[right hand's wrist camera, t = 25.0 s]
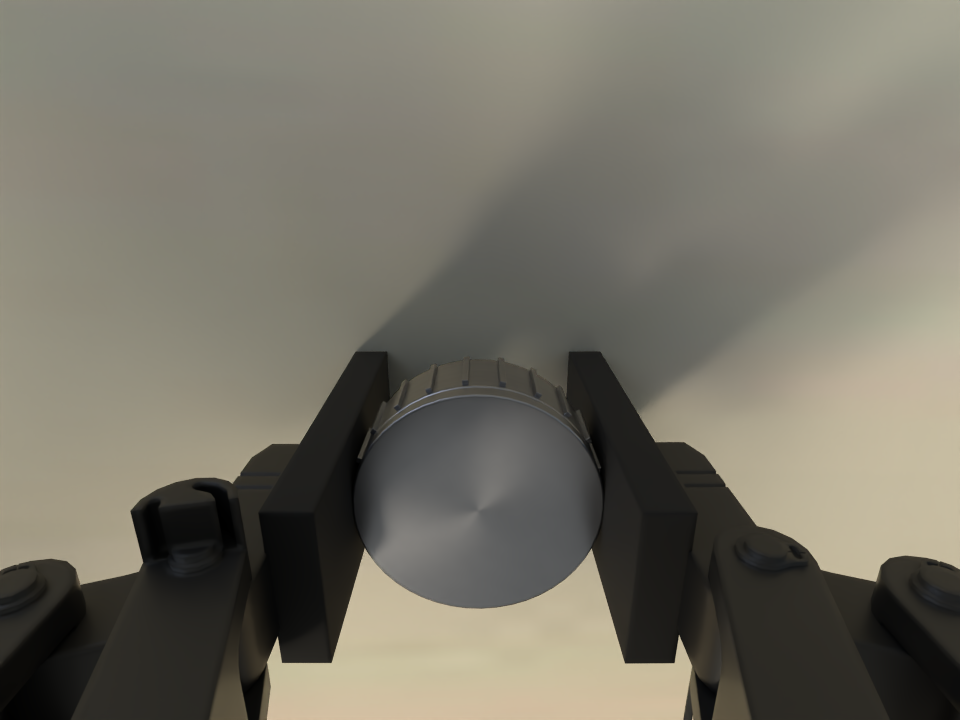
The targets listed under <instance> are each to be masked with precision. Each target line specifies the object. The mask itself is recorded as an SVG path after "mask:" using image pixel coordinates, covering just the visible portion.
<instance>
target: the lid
mask: <svg viewBox="0 0 960 720" xmlns="http://www.w3.org/2000/svg"><path fill="white" fill-rule="evenodd" d="M591 442H592V440H591V437H590V434H589V432H588V429H587V426H586V424H585V421H584V418H583V416H582V413H581V411H580V410H577V411H575V409H574V408H573V406H572V405H571V403H570V402H569V401H568V399H567V398H566V397H565V394H564V391H563V389H562V388H561V387H560V386H558V387H557V388H556V387H555V386H553V385H552V384H551V383H550V382H548V381H547V380H546V379H544V378H542V377H541V376H539V375H537V372H536V370H535V369H533V368H531V369H530V371H529V370H527V369H525V368H522V367H520V366H516V365H513V364H510V363H506V362H504V359H503V358H498V361H494V360H479V359H474V360H470V357H464V360H462V361H456V362H452V363H447V364H443V365H440V366H438V367H437V365H436V364H433V365H431V366H430V370H428V371H426V372H424V373H422V374H420V375H418V376H416V377H415V378H413V379H412V380H410V381H409V382H408V380H407V379H405V380H404V381H403V382H402V384H401V387H400V389H399V390H398V391H397V392H396V393H395V394H394V395H393V396H392V397H391V398H390V400H389V401H388V402H387V403H386V402H384V401H383V402H382V404H381V405H380V408H379V410H378V413H377V415H376V418H375V421H374V423H373V426H372V428H369V430H368V432H367V435H366V437H365V440H364V442H363V445H362V447H361V450H360V452H359V455H358V457H357V460H356V462H357V463H360V464H359V467H358V469H357V473H356V477H355V481H354V485H353V494H352V504H353V515H354V520H355V525H356V528H357V531H358V533H359V536H360V539H361V541H362V543H363V545H364V547H365V548H366V550H367V552H368V553H369V555H370V556H371V558H372V559H373V560H374V562H375V563H376V564H377V565H378V566H379V567H380V568H381V569H382V571H383V572H384V573H385V574H387V575H388V576H389V577H390V578H391V579H393V580H394V581H395V582H396V583H398V584H399V585H401V586H402V587H404V588H405V589H407V590H409V591H411V592H413V593H415V594H417V595H419V596H421V597H423V598H426V599H428V600H431V601H434V602H437V603H441V604H445V605H449V606H455V607H462V608H480V609H482V608H496V607H502V606H508V605H513V604H516V603H520V602H523V601H526V600H529V599H531V598H534V597H536V596H539V595H541V594H543V593H544V592H546V591H548V590H550V589H552V588H553V587H555V586H556V585H558V584H559V583H561V582H562V581H563V580H565V579H566V578H567V577H568V576H569V575H570V574H571V573H572V572H574V571H575V570H576V569H577V567H578V566H579V565H580V564H581V563H582V561H583V560H584V559H585V558H586V556H587V555H588V553H589V551H590V550H591V548H592V547H593V544H594V542H595V540H596V538H597V536H598V533H599V530H600V526H601V523H602V519H603V510H604V490H603V484H602V478H601V475H600V473H601V466H600V464H599V461H598V459H597V456H596V454H595V451H594V448H593V446H592V443H591Z"/></svg>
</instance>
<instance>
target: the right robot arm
mask: <svg viewBox="0 0 960 720" xmlns="http://www.w3.org/2000/svg"><path fill="white" fill-rule="evenodd" d="M567 399H568V401H569V402H570V403H571V405H572V406H573V408H574V409H575V411H577V410H580V411H581V413H582V416H583V418H584V421H585V424H586V426H587V429H588V432H589V434H590V437H591V440H592V442H591V443H592V446H593V448H594V451H595V454H596V456H597V459H598V461H599V464H600V466H601V473H600V475H601V478H602V484H603V490H604V510H603V519H602V523H601V526H600V530H599V533H598V536H597V538H596V540H595V542H594V544H593V547H592V551H593V554H594V558H595V561H596V565H597V568H598V571H599V575H600V578H601V582H602V585H603V589H604V592H605V596H606V599H607V603H608V606H609V609H610V613H611V616H612V620H613V623H614V627H615V630H616V634H617V637H618V641H619V644H620V647H621V651H622V654H623V658H624V661H625V663H675V656H676V650H677V644H678V637H679V635H680V638H681V640H682V642H683V645H684V647H685V650H686V652H687V654H688V657H689V659H690V662H691V664H692V671H691V677H690V683H689V689H688V695H687V700H686V706H685V712H684V720H692V717H693V720H960V569H958V568H956V567H954V566H952V565H950V564H947V563H944V562H941V561H940V562H938V561H937V560H933V559H928V558H922V557H913V556H900V557H894V558H889V559H888V560H887V561H886V562H885V563H884V564H882V565H881V567H880V571H879V574H878V577H877V581H876V582H874V581H869V580H864V579H859V578H854V577H849V576H845V575H840V574H835V573H830V572H827V571H823V570H820V568H819V566H818V563H817V561H816V560H815V559H814V558H813V556H812V555H811V554H810V552H809V551H808V550H807V549H806V548H805V547H803V546H802V545H801V544H799V543H798V542H796V541H795V540H794V539H792V538H790V537H788V536H786V535H783V534H781V533H779V532H777V531H774V530H771V529H767V528H762V527H758V526H756V525H755V523H754V522H753V520H752V519H751V518H750V516H749V515H748V514H747V512H746V511H745V510H744V508H743V507H742V506H741V504H740V503H739V502H738V500H737V499H736V498H735V496H734V495H733V493H732V492H731V491H730V489H729V488H728V487H726V486H725V483H724V481H723V480H722V479H721V477H720V476H719V475H718V474H716V471H715V469H714V468H713V466H712V465H711V464H710V462H709V461H708V460H707V458H706V457H705V456H704V455H703V454H701V453H700V452H698V451H697V450H695V449H694V448H692V447H691V446H689V445H687V444H686V443H684V442H655V441H654V440H653V438H652V436H651V435H650V433H649V431H648V430H647V428H646V426H645V425H644V423H643V421H642V420H641V418H640V416H639V415H638V413H637V412H636V410H635V408H634V407H633V405H632V403H631V402H630V400H629V398H628V397H627V395H626V393H625V392H624V390H623V388H622V387H621V385H620V384H619V382H618V380H617V379H616V377H615V375H614V374H613V372H612V370H611V369H610V367H609V365H608V364H607V362H606V360H605V359H604V357H603V356H602V354H601V352H569V364H568V381H567ZM389 400H390V395H389V378H388V361H387V352H355V354H354V356H353V357H352V359H351V361H350V362H349V364H348V366H347V367H346V369H345V370H344V372H343V374H342V375H341V377H340V379H339V380H338V382H337V384H336V385H335V387H334V389H333V390H332V392H331V394H330V395H329V397H328V398H327V400H326V402H325V403H324V405H323V407H322V408H321V410H320V412H319V413H318V415H317V417H316V418H315V420H314V422H313V423H312V425H311V426H310V428H309V430H308V431H307V433H306V435H305V436H304V438H303V440H302V441H301V443H300V444H272V445H270V446H269V447H267V448H266V449H264V450H263V451H261V452H260V453H258V454H257V455H255V456H254V457H252V458H251V460H250V461H249V462H248V464H247V465H246V466H245V468H244V469H243V470H242V472H241V475H240V476H238V477H237V479H236V480H235V481H234V483H233V484H231V483H230V482H229V481H226V480H222V479H217V478H194V479H189V480H185V481H180V482H175V483H173V484H170V485H168V486H165V487H162V488H160V489H157V490H155V491H154V492H152V493H151V494H149V495H147V496H146V497H144V498H143V499H141V500H140V501H139V502H138V503H137V504H136V505H135V507H134V508H133V509H132V510H131V515H132V519H133V523H134V527H135V531H136V535H137V539H138V543H139V547H140V551H141V555H142V559H143V564H142V567H141V569H140V571H139V572H136V573H133V574H129V575H125V576H121V577H116V578H111V579H106V580H102V581H97V582H92V583H87V584H83V585H80V582H79V579H78V575H77V572H76V569H75V568H74V567H73V566H72V565H70V564H69V563H68V562H67V561H61V560H55V559H45V560H36V561H29V562H25V563H20V564H19V565H14V566H11V567H8V568H5V569H3V570H1V571H0V720H267V713H268V704H269V696H270V688H271V686H270V678H269V671H268V665H267V661H268V658H269V656H270V654H271V651H272V649H273V646H274V644H275V641H276V639H277V637H278V640H279V646H280V652H281V659H282V663H332V660H333V656H334V653H335V649H336V646H337V642H338V639H339V635H340V632H341V628H342V625H343V621H344V618H345V614H346V611H347V608H348V604H349V601H350V597H351V594H352V590H353V587H354V583H355V580H356V576H357V573H358V569H359V566H360V562H361V559H362V556H363V552H364V549H365V547H364V545H363V543H362V541H361V539H360V536H359V533H358V531H357V528H356V525H355V520H354V515H353V504H352V494H353V485H354V481H355V477H356V473H357V469H358V467H359V464H360V463H357V462H356V460H357V457H358V455H359V452H360V450H361V447H362V445H363V442H364V440H365V437H366V435H367V432H368V430H369V428H372V426H373V423H374V421H375V418H376V415H377V413H378V410H379V408H380V405H381V404H382V402H383V401H384V402H386V403H387V402H388V401H389Z"/></svg>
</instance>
